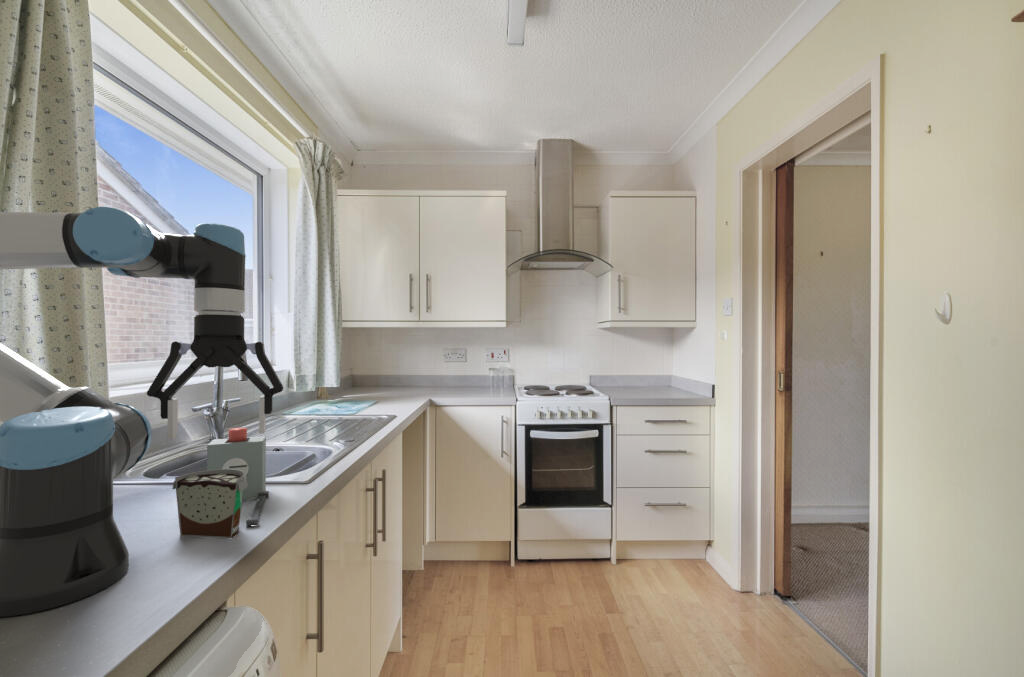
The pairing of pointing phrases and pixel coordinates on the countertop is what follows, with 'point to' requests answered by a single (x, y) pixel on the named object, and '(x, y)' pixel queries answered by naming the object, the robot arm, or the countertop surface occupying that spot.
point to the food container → (210, 502)
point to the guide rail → (257, 509)
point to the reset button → (237, 434)
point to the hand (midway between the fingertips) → (218, 435)
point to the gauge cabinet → (241, 461)
